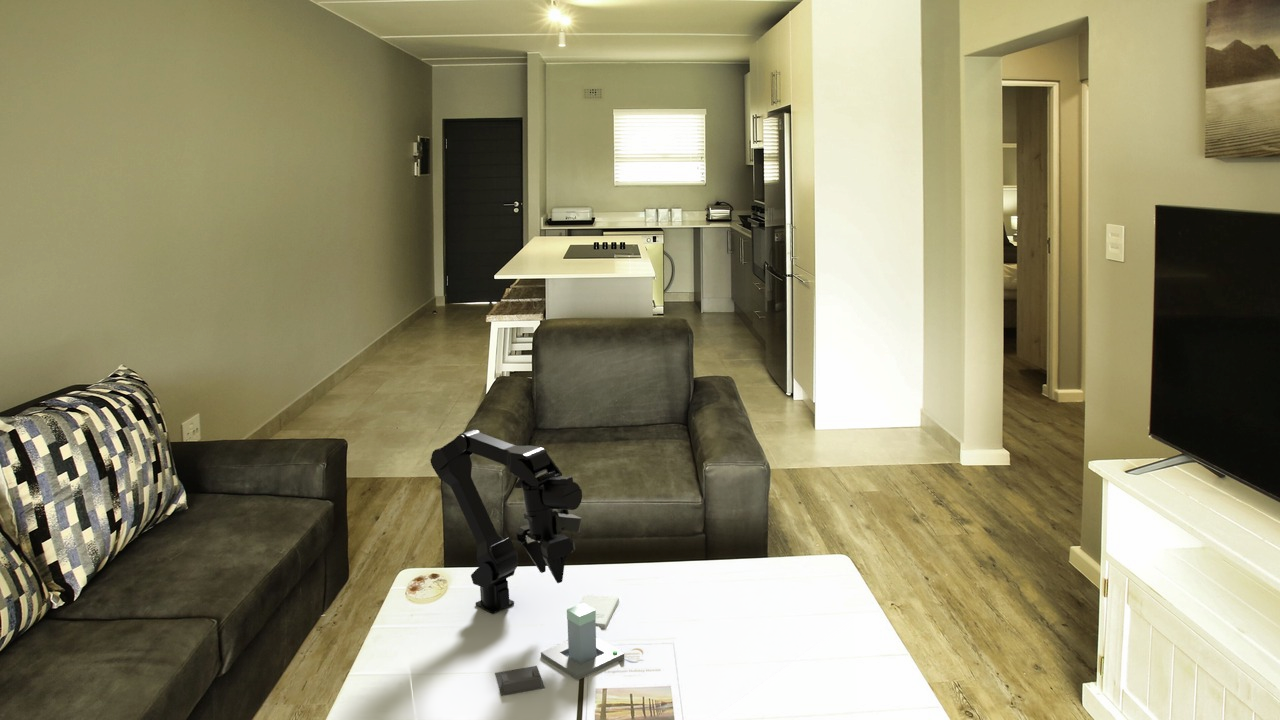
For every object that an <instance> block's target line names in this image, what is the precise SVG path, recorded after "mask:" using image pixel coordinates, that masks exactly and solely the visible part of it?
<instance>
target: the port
mask: <svg viewBox="0 0 1280 720" xmlns="http://www.w3.org/2000/svg"><path fill="white" fill-rule="evenodd" d="M596 654H599V655H598V656H597V657H595V658H593V659H591V660H589V661H587V662H585V663H583V664H581V665H580V664H579V663H577V662H576V661H574V660H572V659H571V658H569V656H567V655H569V649H568V639H567V640H565V641H563V642H561V643H558V644H556V645H553V646H551V647H549V648H547V649H545V650H542V651H540V658H542V659H544V660H545V661H547V662H548V663H550V664H551V665H552V666H555V667H557V668H558V669H559V670H561V671H562V672H564V673H565V674H567V675H568V676H570V677H571V678H573V679H574V680H576V681H580V680H581V679H584V678H586V677H589V676H590V675H592V674H594V673H596V672H598V671H601V670H602V669H605V668H607V667H609V666H611V665H613V664H615V663H617V662H619V663H621V662H623V661H625V653H624V652H623V651H621V650H619V649H618V648H616V647H614V646H613V645H610V643H607V642H606V641H603V640H602V639H600V638H599V637H597V636H596Z"/></svg>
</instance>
